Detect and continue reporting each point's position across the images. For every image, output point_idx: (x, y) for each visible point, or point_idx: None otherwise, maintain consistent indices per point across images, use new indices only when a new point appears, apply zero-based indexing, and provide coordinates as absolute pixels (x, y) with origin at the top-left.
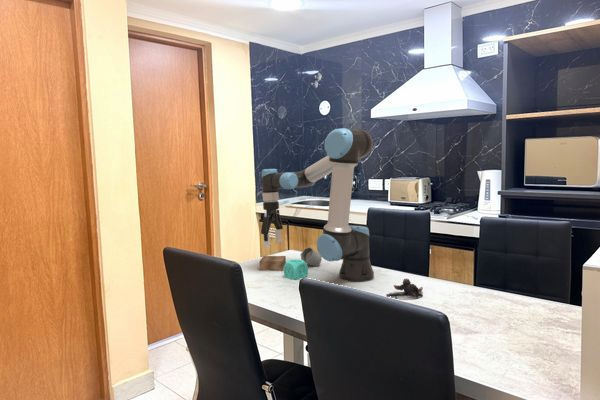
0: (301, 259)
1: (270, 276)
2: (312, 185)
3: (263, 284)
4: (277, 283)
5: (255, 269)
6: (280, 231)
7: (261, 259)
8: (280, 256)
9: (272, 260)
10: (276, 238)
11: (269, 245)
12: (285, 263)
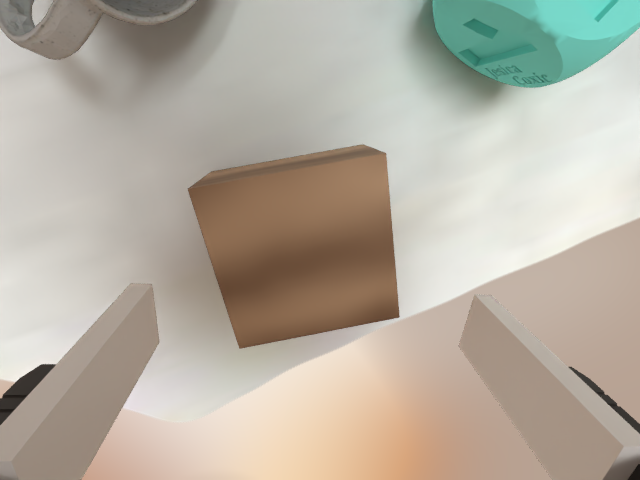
0: (178, 16)
1: (441, 195)
2: None
3: (595, 177)
4: (588, 102)
5: None
6: (28, 417)
7: (346, 323)
8: (222, 225)
9: (368, 240)
10: (134, 371)
11: (506, 311)
12: (586, 60)
